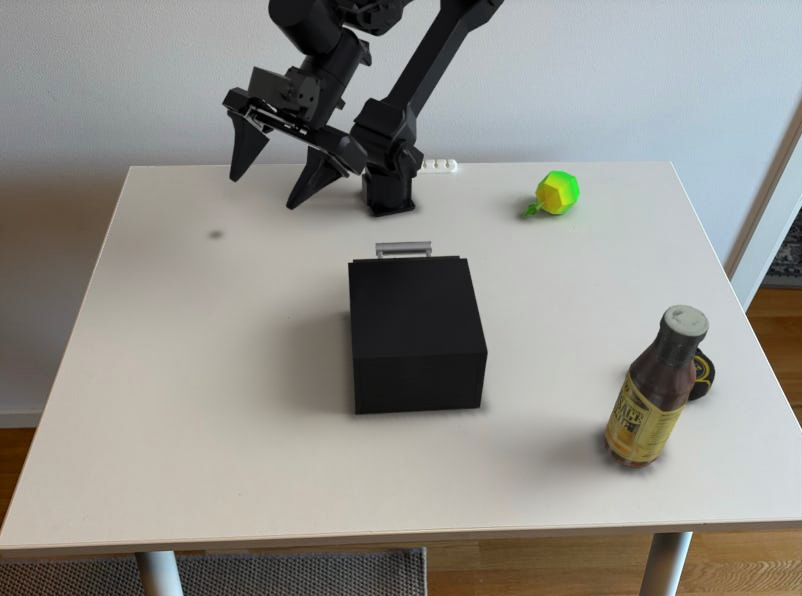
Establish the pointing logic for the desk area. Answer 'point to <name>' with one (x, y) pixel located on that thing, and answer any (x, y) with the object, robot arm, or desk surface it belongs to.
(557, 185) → the apple
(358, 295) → the box
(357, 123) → the robot arm
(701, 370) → the tape measure
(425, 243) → the tray
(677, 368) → the sauce bottle
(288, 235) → the desk surface
